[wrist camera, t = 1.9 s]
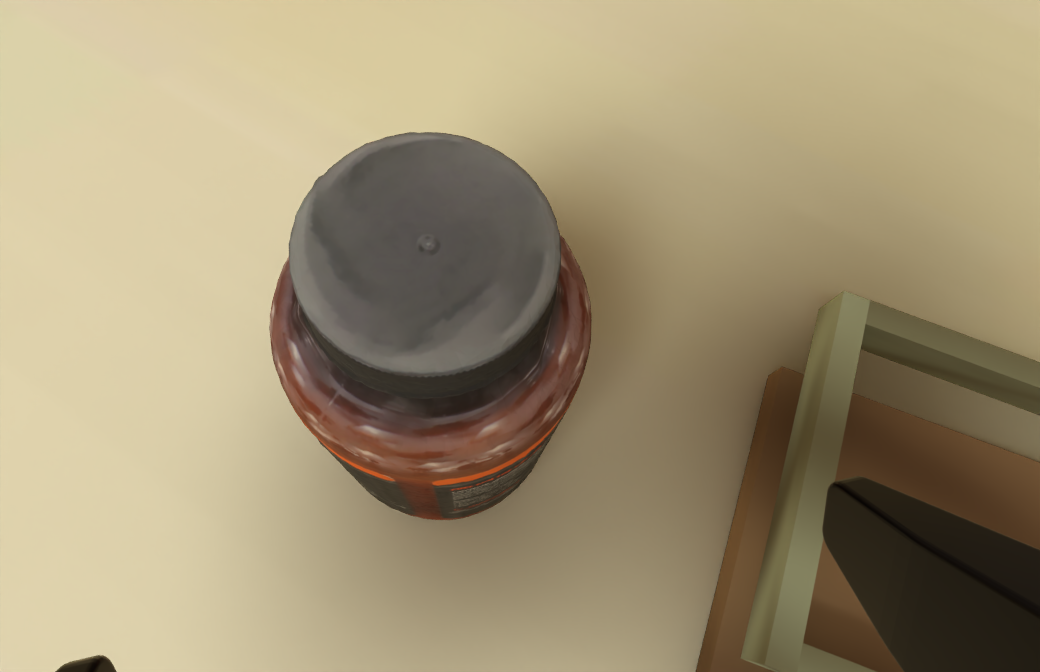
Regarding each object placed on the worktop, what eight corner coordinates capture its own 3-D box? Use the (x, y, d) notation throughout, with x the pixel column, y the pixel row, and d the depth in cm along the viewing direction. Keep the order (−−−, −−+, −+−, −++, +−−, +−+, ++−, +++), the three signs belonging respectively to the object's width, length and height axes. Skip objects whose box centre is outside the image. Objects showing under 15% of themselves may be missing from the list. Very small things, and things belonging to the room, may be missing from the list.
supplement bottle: (579, 389, 21) (703, 196, 11) (475, 564, 19) (501, 543, 9) (415, 291, 22) (378, 16, 11) (299, 451, 20) (119, 302, 9)
